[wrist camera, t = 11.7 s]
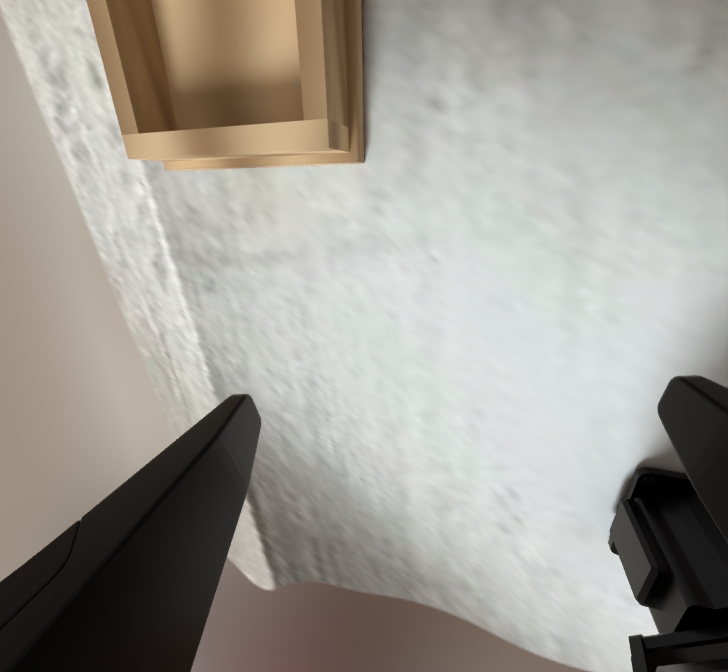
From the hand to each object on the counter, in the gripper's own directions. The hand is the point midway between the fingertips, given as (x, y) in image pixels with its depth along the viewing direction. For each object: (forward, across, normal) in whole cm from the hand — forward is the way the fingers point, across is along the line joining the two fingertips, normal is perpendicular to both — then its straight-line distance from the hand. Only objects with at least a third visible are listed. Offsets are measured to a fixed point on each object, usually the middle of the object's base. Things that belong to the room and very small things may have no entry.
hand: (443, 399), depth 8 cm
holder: (+15, +7, -9) cm, 19 cm away
